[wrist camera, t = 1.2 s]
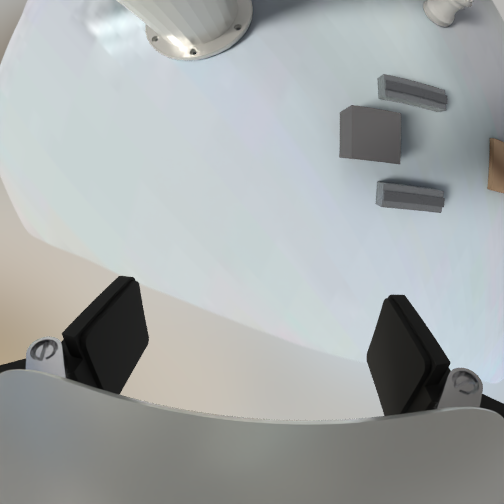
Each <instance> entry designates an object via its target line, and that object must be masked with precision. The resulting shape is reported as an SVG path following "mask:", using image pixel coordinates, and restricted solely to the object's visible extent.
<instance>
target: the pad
mask: <svg viewBox="0 0 504 504" xmlns="http://www.w3.org/2000/svg"><path fill="white" fill-rule="evenodd" d="M488 189H489V190H493V191H497V192H501V193H504V142H502V141H500V140H497V139H494V138H490V157H489V177H488Z"/></svg>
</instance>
